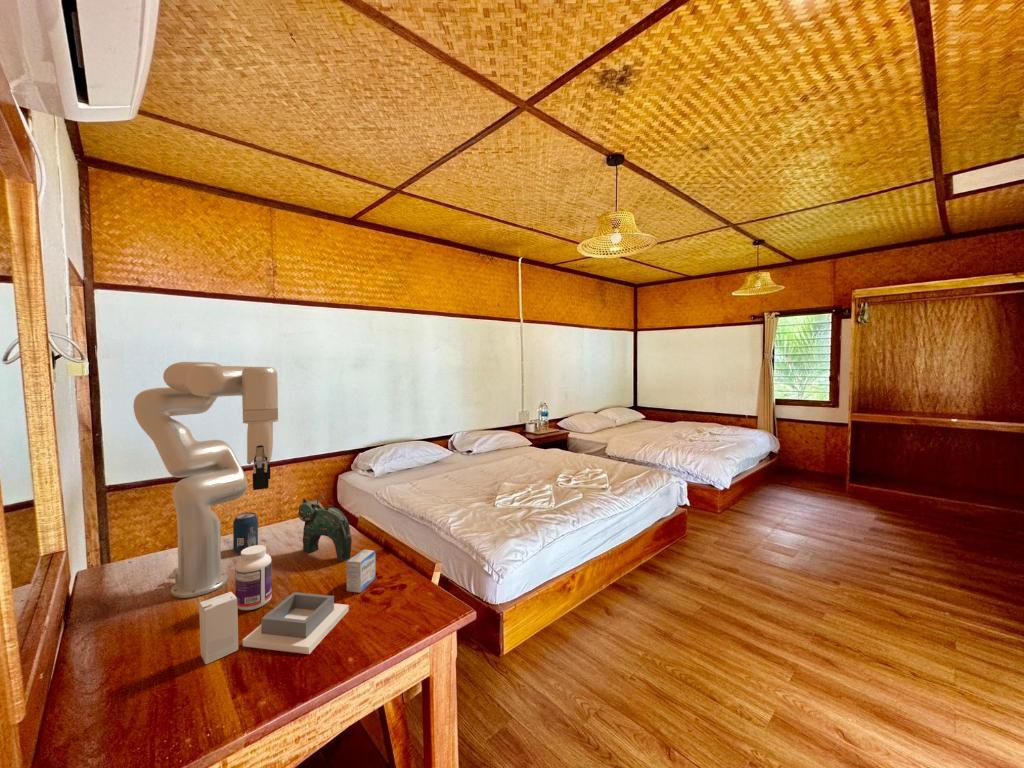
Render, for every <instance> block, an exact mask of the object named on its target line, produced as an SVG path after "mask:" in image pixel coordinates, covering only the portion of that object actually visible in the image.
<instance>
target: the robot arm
mask: <svg viewBox="0 0 1024 768" xmlns="http://www.w3.org/2000/svg"><path fill="white" fill-rule="evenodd" d="M162 375H163V377H162V378H163V381H164V384H165V385H166V386H168V387H155V388H149V389H145V390H143V391H141V392H139V393H138V394H137V395H136V396H135V398H134V400H133V413H134V417H135V420H136V421H137V424H138V426H139V427H140V428H141V429H142V430H143V431H144V432H145V434H146V435H147V436H148V437H149V438H150V439H151V441H152V442H153V444H154V446H155V449H156V450H157V453H158V454H159V456H160V459H161V461H162V463H163V464H164V466H165V469H166V470H167V472H168V473H169V475H171V476H172V477H175V478H182V479H180V480H179V481H178V482H176V484H174V486H173V488H172V491H171V492H172V500H173V503H174V504H173V505H174V509H175V513H176V514H175V515H176V522H177V527H176V528H177V567H174V569H173V570H172V572H171V573H169V575H168V579H169V580H174V581H175V583H174V584H173V585H172V586H171V588H170V594H171V596H172V597H175V598H177V597H178V598H177V599H187V598H194V597H195V598H196V597H199V596H202V595H203V596H204V595H205V594H206V595H207V594H209V593H212V592H214V591H215V590H218V589H220V588H222V586H224V585H226V583H227V581H228V579H229V578H228V574H227V573H226V572H224V571H222V567H221V566H222V559H221V558H222V554H221V553H222V550H221V549H222V547H221V546H222V545H221V544H222V541H221V535H222V534H221V528H222V527H221V524H222V523H221V520H220V517H219V515H217V514H216V513H215V512H214V511H213V510H212V509H211V508H212V507H214V506H217V505H221V504H224V503H228V502H231V501H235V500H238V499H240V498H242V497H243V496H245V494H246V493H247V491H248V489H249V488H248V486H249V482H248V479H247V476H246V473H245V472H244V470H243V468H242V466H241V463H240V462H239V460H238V458H237V456H236V454H235V452H234V450H233V449H232V447H231V445H229V443H227V442H226V441H224V440H220V439H211V440H202V441H197V440H196V439H195V438H194V437H193V435H192V432H191V430H190V429H189V428H188V427H187V426H186V425H185V424H183V423H182V422H180V421H178V420H176V419H174V418H172V417H175V416H188V415H199V414H203V413H206V412H207V411H208V410H209V409H210V408H212V406H213V404H214V403H215V402H216V400H217V399H218V398H221V397H235V396H238V397H239V396H240V397H241V398H242V399H241V401H242V424H245V425H247V429H246V431H247V432H246V433H247V435H246V453H247V454H246V463H247V465H251V463H253V468H252V469H253V472H252V490H253V491H258V490H265V489H269V486H270V485H269V482H270V481H269V480H270V479H271V464H270V463H271V460H272V456H273V455H272V454H273V445H274V423H276V422H279V401H278V400H279V399H278V398H279V396H278V391H279V389H278V388H279V387H278V372H277V369H276V368H274V367H270V366H240V365H239V366H238V365H237V366H236V365H233V366H232V365H230V366H229V365H226V366H225V365H221V364H220V363H217V362H211V361H210V362H205V361H201V362H200V361H180V362H176V363H173V364H171V365H169V366H167V367H166V368H165V369H164V372H163V374H162Z"/></svg>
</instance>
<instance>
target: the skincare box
mask: <svg viewBox="0 0 1024 768" xmlns="http://www.w3.org/2000/svg"><path fill="white" fill-rule="evenodd" d="M198 609H199V610H198V613H199V614H198V616H199V635H200V636H199V640H200V644H199V646H200V656H201V658H202V660H203V663H204V664H205V665H208V664H211V663H213V662H215V661H217V660H219V659H222V658H224V657H226V656H228V655H230V654H232V653H235V652H237V651H238V650H239V628H238V627H239V625H238V624H239V622H238V614H239V613H238V608H237V598H236V596H235V594H234V593H233V591H228V592H226V593H222V594H220V595H217V596H215V597H211V598H210V599H206V600H203V601H201V602H199V603H198Z"/></svg>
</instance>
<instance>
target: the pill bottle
mask: <svg viewBox="0 0 1024 768" xmlns="http://www.w3.org/2000/svg"><path fill="white" fill-rule="evenodd" d="M266 547H267V546H266V545H263V544H262V545H261V544H258V545H255V546H251V547H247V548H245V549H243V550H242V551H241V554H240V559H239V560H238V561H236V563H235V565H234V572H235V573H234V576H235V577H234V578H235V580H234V581H235V583H234V585H235V589H234V590H235V592H234V593H235V594H234V595H235V596H236V598H237V610H240V611H254V610H257V609H260V608H261V607H263V606H265V605H266V604H268V603H269V602H270V601H271V599H272V595H273V588H272V587H273V581H272V580H273V578H272V569H273V568H272V567H273V566H272V565H273V564H272V563H273V562H272V560H273V559H272V557H271V556H270V554H269V553H267V548H266Z"/></svg>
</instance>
